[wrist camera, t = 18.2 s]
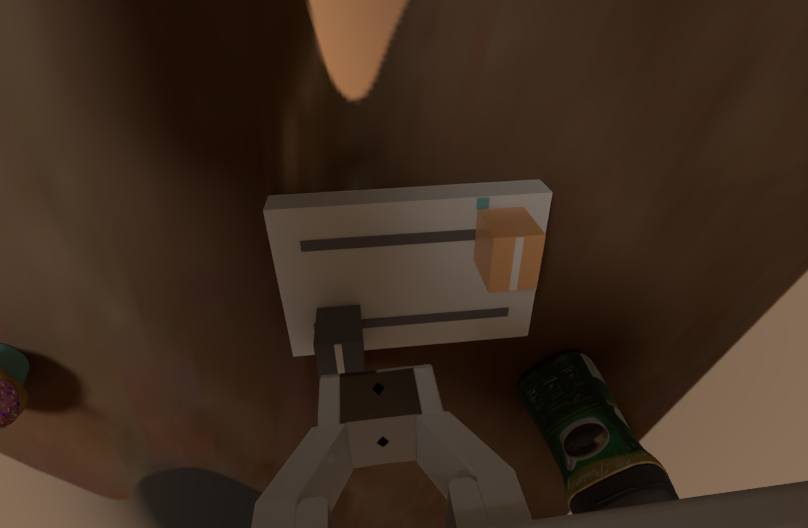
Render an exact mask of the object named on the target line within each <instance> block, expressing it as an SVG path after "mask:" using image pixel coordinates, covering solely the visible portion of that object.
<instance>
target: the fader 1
mask: <svg viewBox="0 0 808 528" xmlns="http://www.w3.org/2000/svg"><path fill="white" fill-rule="evenodd" d="M313 347H314V353H315V359H316V364H317V370H318V376H319V382H320V378H321V375H330V374H340V373H351V372H363V371H365V359H364V341H363V329H362V318H361V307H360V305H352V306H339V307H327V308H317V312H316V322H315V332H314V343H313Z"/></svg>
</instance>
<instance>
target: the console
mask: <svg viewBox="0 0 808 528" xmlns="http://www.w3.org/2000/svg"><path fill="white" fill-rule="evenodd" d="M552 193H553V192H552V191H551V190H550V189H549V188H548V187H547V186H546V185H545V184H544V183H543V182H542V181H541V180H540V179H537V180H520V181H503V182H486V183H469V184H452V185H435V186H418V187H401V188H384V189H367V190H350V191H333V192H316V193H300V194H283V195H268V198H267V201H266V203H265V206H264V209H263V213H264V218H265V223H266V228H267V233H268V237H269V242H270V247H271V252H272V257H273V261H274V266H275V271H276V276H277V281H278V285H279V290H280V295H281V300H282V305H283V309H284V314H285V319H286V324H287V329H288V333H289V338H290V343H291V348H292V353H293V357H295V356H306V355H315V353H314V347H313V343H314V332H315V322H316V312H317V308H327V307H339V306H352V305H360V307H361V318H362V329H363V341H364V350H374V349H385V348H396V347H408V346H419V345H430V344H442V343H453V342H464V341H476V340H487V339H498V338H510V337H521V336H528V331H529V325H530V320H531V314H532V308H533V302H534V297H535V291H536V289H528V290H516V291H503V292H491V293H488V291H487V289H486V287H485V284H484V282H483V280H482V278H481V276H480V273H479V271H478V269H477V267H476V265H475V263H474V260H473V259H474V246H475V233H476V220H477V210H478V209H494V208H510V207H524V208H525V209H526V210H527V211H528V213H529V214H530V215H531V216H532V218H533V219H534V220H535V221H536V223H537V224H538V225H539V226H540V228H541V229H542V230H543V231H544V233H545V234H546V228H547V222H548V216H549V211H550V205H551V199H552Z"/></svg>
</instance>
